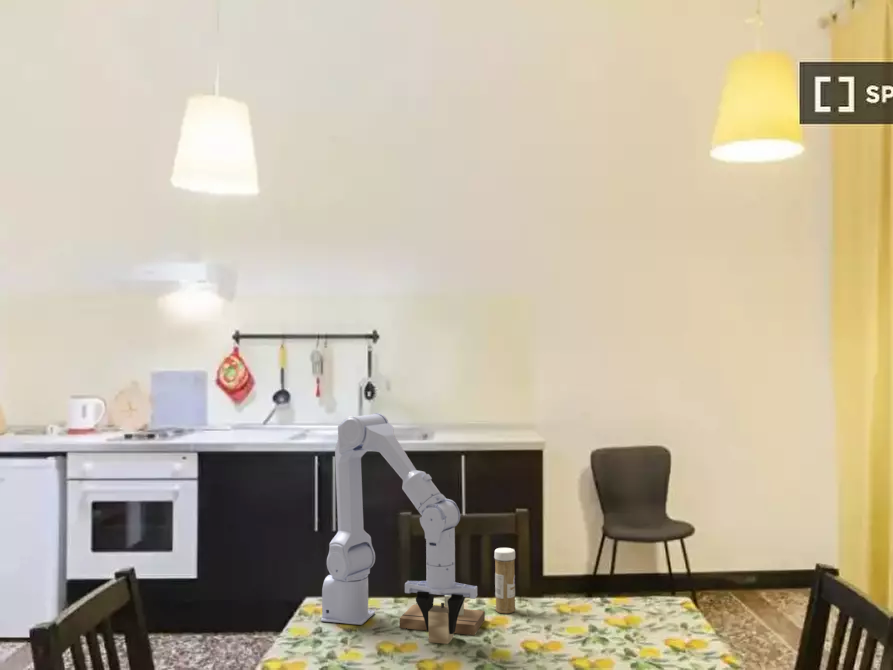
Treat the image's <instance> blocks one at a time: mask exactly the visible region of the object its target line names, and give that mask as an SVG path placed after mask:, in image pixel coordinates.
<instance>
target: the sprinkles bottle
mask: <svg viewBox="0 0 893 670" xmlns="http://www.w3.org/2000/svg"><path fill="white" fill-rule="evenodd" d="M493 558H494V561H495V564H494V565H495V566H494V567H495V568H494V569H495V573H494V585H495V587H494V590H495V592H494V596H495V607H494V608H495V609H494V610H495V612H497V613H499V614H507V615H508V614H512V613H515V611H516V580H515V579H516V575H515V559H516V551H515V548H511V547H498V548H496V549H495V550H494V556H493Z"/></svg>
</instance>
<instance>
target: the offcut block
mask: <svg viewBox="0 0 893 670" xmlns="http://www.w3.org/2000/svg"><path fill="white" fill-rule="evenodd" d="M449 598H451V596H448V595H444V606H448V600H449ZM464 602H465V601H464ZM464 602H463V604H462V606H461V609H460V612H459V615H464V609H465V608H464V607H465V606H464V605H465V603H464Z"/></svg>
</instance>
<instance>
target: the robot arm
mask: <svg viewBox="0 0 893 670" xmlns="http://www.w3.org/2000/svg"><path fill="white" fill-rule="evenodd" d="M337 436H338V437H337V442H336V446H335V449H334V456H335V457H334V458H335V460H334V461H335V463H334V464H335V483H336V484H335V487H336V488H335V489H336V509H337V511H336V514H337V532H336V534H335V535H334V537H332V539H331V541H330V542H329V544H328V546H329V550H328V555H327V557H326V568H327V571H328V572H329V574H328V575H327V576H325V578H324V580H323V584H322V589H321V607H322V608H321V609H322V612H321V618H320V621H321V622H329V623H335V624H336V623H338V624H339V623H340V624H348V625H359V626H362V625H363V624H365V623H366V622H367V621H368V620H369V619H370V618H371V617H372V616H373V615H375V614H376V612H375V610H371V609H369V574H370V573H371V568H372V567H373V566H374V564H375V562H376V552H375V550H374V547H373V544H372V537H371V535H370V533H367V532H366V530H365V529H364V509H363V508H364V506H363V505H364V504H363V501H364V500H363V482H362V481H363V479H362V476H363V475H362V458H363V456H364V455H365V454H366V453H367V452H368V451H371V452H377V453H380V454H381V456H382V457H383V458H384V459H385V461H386V462H387V463H388V464H389V465H390V467H391V468H392V469H393V470H394V471H395V473H396V474H397V475H398V476H399V477H400V479H401V480H402V486H401V488H402V491H403V492H404V493H405V494H406V496H407V498H408V499H409V500H410V501H411V503H412V505H413V506H414V507H415V509H416V510H417V512H418V513H419V514H420V515H421V517H419V523H420V527H422V529H423V531H424V539H425V541H426V542H425V547H426V548H425V549H426V551H425V553H426V555H425V556H426V563H425V564H426V565H425V566H426V567H425V568H426V573H425V574H426V580H407V581H406V582H405V583H404V593H405V594H411V593H415V594H416V597H415V602H416V605H418V606H419V608H420V610H421V612H422V614H423V617H424V620H425V624H426V628H427V631H426V632H427V633H429V628H428V611H429V610H430V609H431V608H432V607H433V606H434V601H435V595H437V596H445V595H448V596H451V598H449V600H448V609H449V634H453V633H454V632H455V629H456V623H457V618H458V615H459V612H460V609H461V606H462V604H463V602H465V599H466V598H470V599H472V600H473V599H474V600H475V599H476V598H477V597H478V586H477V585H471V584H466V583H461V582H460V583H459V582H456V532H455V531H456V530H455V529H456V527H457V526H458V524H459V522H460V521H461V512H460V508H459V507H458V505H457V503H456V502H455V501H454V500H453V499H451V498H450V499H449V498H446V496H445V495H444V494H443V493H441V492H440V490H439V489H438V488H437V486H436V485H435V483H434V482H433V481H432V479H433V478H432V476H431V475H430V474H429V473H426V471H422V470H417V468H416V467H415V465H414V463H412V461H411V459H410V458H409V457H408V454H407V453H406V451H405V450H404V449H403V447H402V445H401V444H400V442H399V440H398V439H397V438H396V436H395V433H394V426H393V425H392V424H391V423H390V422H389V421H388V418H387V417H386V416H385V415H384V414H382V413H379V412H376V413H371V414H364V415H358V416H357V415H356V416H354V415H351V416H347V417H345V419H343V421H342V422H341V423H340V424H339V425H338V426H337ZM454 634H455V633H454Z"/></svg>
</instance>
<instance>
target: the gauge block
mask: <svg viewBox="0 0 893 670" xmlns="http://www.w3.org/2000/svg"><path fill="white" fill-rule="evenodd" d="M428 628H429V632H428V643H433V644H435V643H436V644H445V645H449V643H450V642H451V641H452V640H453V638H454V636H455V635H454V634H455V633H453V634H449V609H448V606H445V602H441V603H440V605H437V604H433V607H432V608H431V609H430V610H429V611H428Z"/></svg>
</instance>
